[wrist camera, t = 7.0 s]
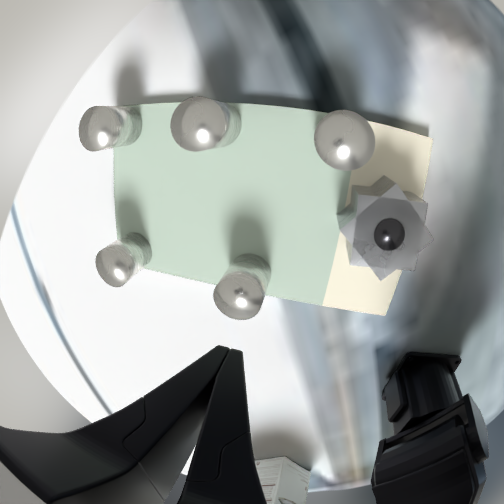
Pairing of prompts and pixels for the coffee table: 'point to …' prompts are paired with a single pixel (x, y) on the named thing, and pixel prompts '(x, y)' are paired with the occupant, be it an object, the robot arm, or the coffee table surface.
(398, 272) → the mat
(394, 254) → the gear
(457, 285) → the coffee table surface
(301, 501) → the supplement box
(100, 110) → the spacer field
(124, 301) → the coffee table surface
